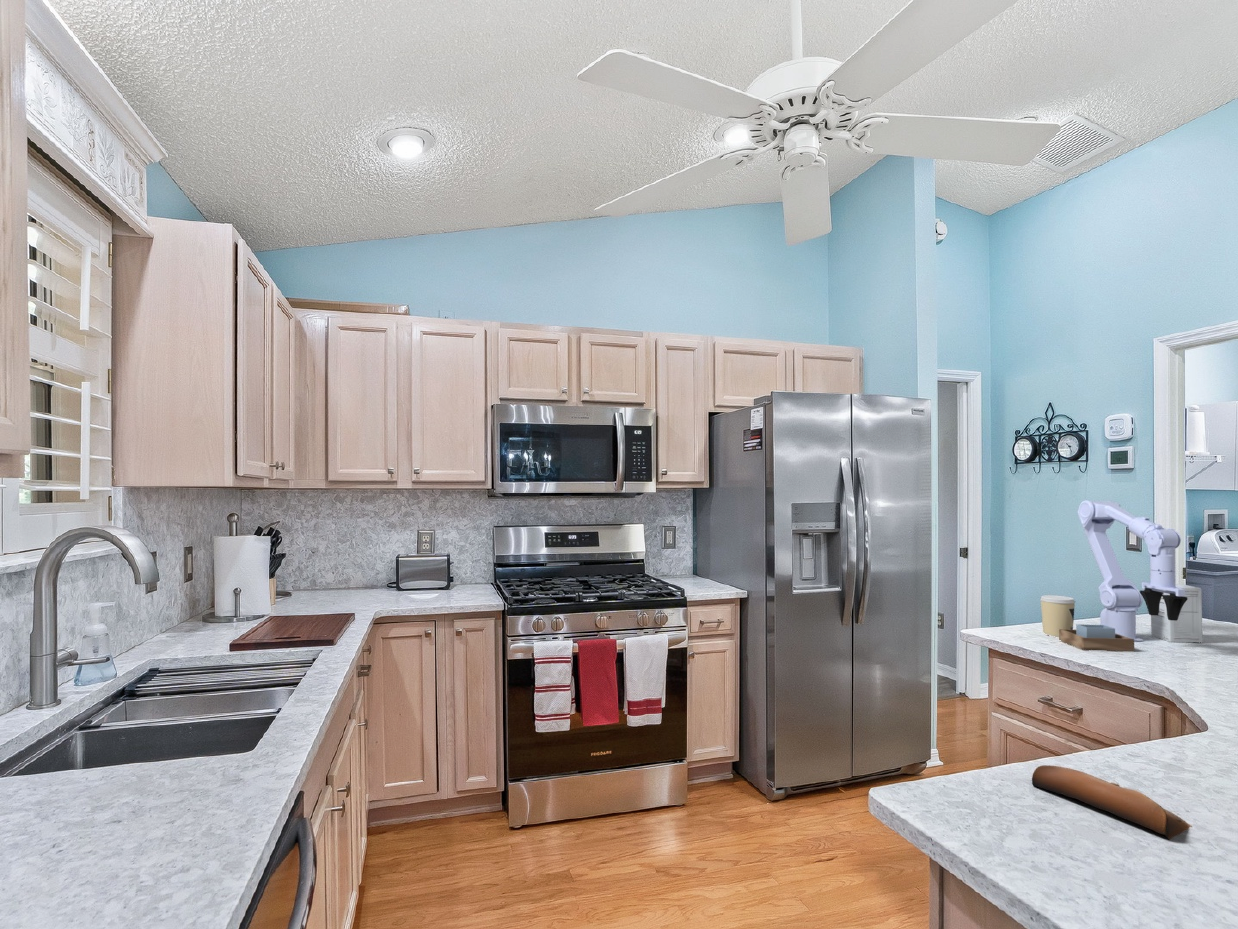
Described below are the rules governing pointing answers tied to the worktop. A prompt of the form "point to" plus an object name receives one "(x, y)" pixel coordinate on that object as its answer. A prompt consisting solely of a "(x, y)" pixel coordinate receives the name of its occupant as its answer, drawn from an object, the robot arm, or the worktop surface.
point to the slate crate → (1095, 631)
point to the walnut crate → (1096, 641)
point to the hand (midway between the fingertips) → (1163, 617)
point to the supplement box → (1180, 619)
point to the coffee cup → (1057, 613)
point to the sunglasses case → (1109, 798)
